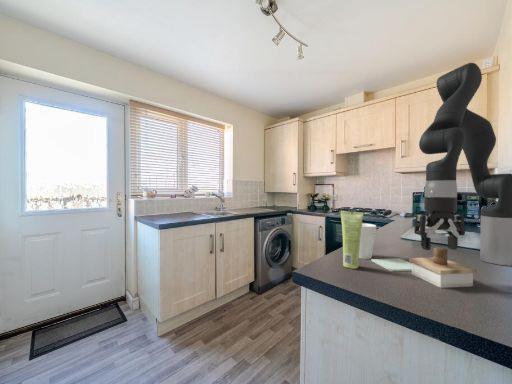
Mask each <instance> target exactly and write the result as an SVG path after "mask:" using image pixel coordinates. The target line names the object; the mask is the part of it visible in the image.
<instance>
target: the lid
mask: <svg viewBox="0 0 512 384" xmlns="http://www.w3.org/2000/svg"><path fill="white" fill-rule="evenodd" d="M448 251H449V250H448V249H447V248H444V247H437V246H436V247H435V246H434V247H433V256H432V257H409V258H408V262H410V263H415V264H417V265H420V266H422V267H424V268H427V269H429V270H432V271H434V272H437V273H439V274H460V273H473V274H477V272H478V271H477V270H478V269H477V268H473V267H470V266H468V265H466V264H465V265H464V264H462V263H458V262H456V261H452V260H450V259H448Z"/></svg>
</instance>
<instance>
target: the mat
mask: <svg viewBox="0 0 512 384" xmlns="http://www.w3.org/2000/svg"><path fill="white" fill-rule="evenodd" d="M370 261H371V262H372V263H375V264H376V265H378V266H380V267H382V268H384V269H386V270H388V271H390V272H392V273H393V272H412V262H410V261H409V260H408V261H407V260H405V259H403V258H398V257H397V258H371V259H370Z"/></svg>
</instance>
